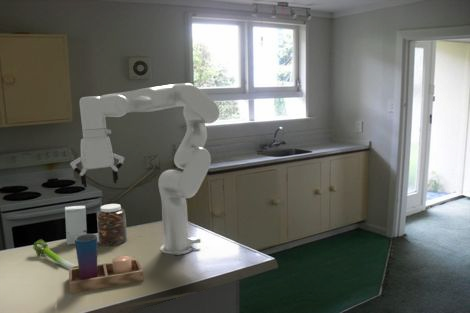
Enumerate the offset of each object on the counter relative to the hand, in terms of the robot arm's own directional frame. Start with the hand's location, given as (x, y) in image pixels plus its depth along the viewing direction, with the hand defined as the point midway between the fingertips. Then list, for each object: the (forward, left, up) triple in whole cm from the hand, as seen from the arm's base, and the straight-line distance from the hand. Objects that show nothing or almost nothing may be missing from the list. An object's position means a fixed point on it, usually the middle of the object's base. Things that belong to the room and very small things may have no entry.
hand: (100, 184), depth 146 cm
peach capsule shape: (-5, +9, -30) cm, 32 cm away
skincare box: (+9, -39, -31) cm, 50 cm away
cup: (+6, +9, -30) cm, 32 cm away
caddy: (+1, +9, -31) cm, 32 cm away
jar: (-5, -33, -31) cm, 45 cm away
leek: (+17, -18, -31) cm, 40 cm away
